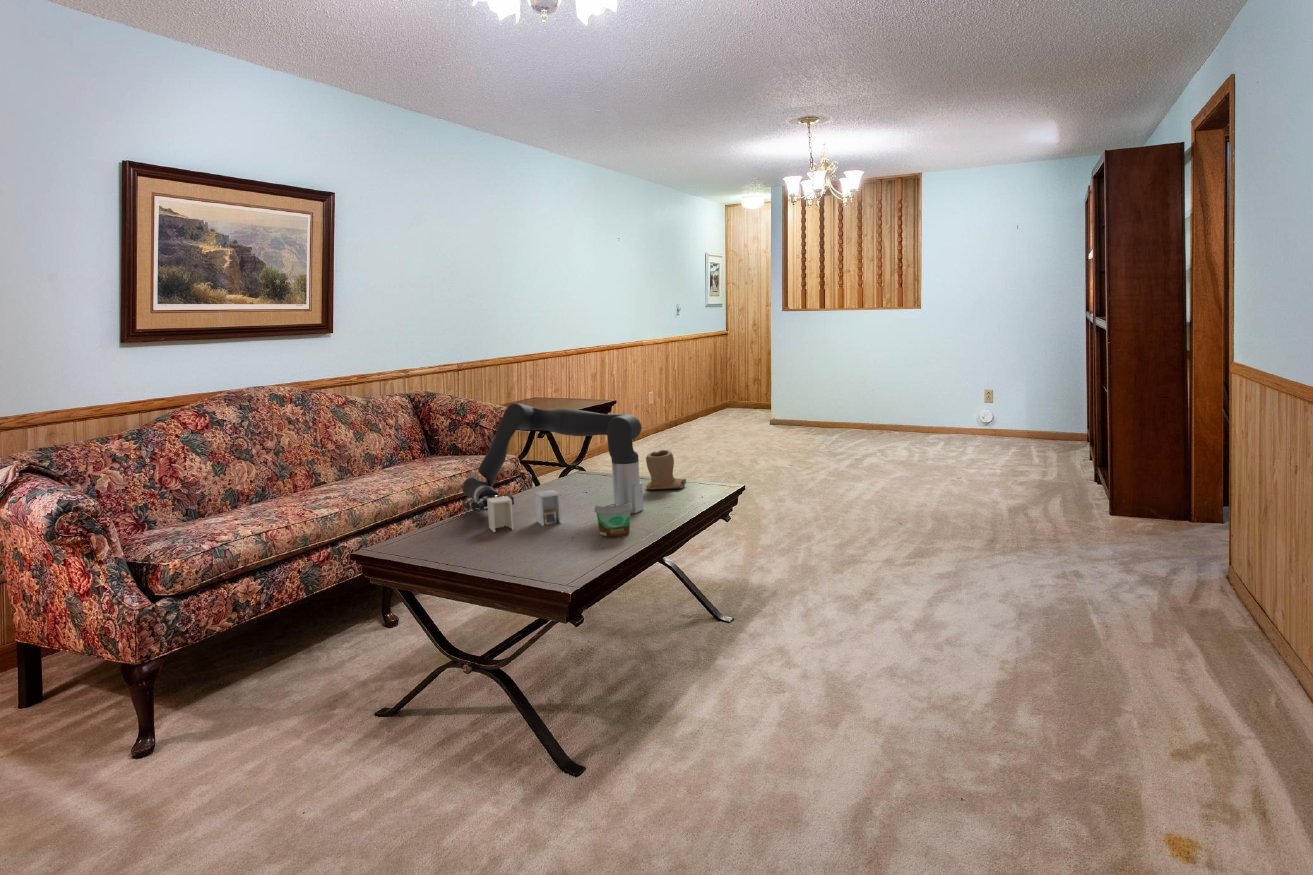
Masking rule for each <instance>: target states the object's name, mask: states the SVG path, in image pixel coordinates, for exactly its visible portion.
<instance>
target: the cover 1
mask: <svg viewBox="0 0 1313 875" xmlns="http://www.w3.org/2000/svg"><path fill="white" fill-rule="evenodd" d="M502 496H503V495H502ZM487 505H488V510H487V515H488V527H489V528H490V529H491V530H492V531H493V532H496V529H499V528H504V526H506V527H508V528H509V529H510V528H511V529H512V531H514V530H515V528H514V514H513V513H514V512H513V505H512V500H511V499H510V498H509V497H508V496H506V495H504V496H503V497H495V498H487ZM490 529H489V530H490ZM511 529H510V530H511ZM513 529H514V530H513ZM491 530H490V531H491ZM492 531H491V532H492Z"/></svg>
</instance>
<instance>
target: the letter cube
mask: <svg viewBox="0 0 1313 875" xmlns="http://www.w3.org/2000/svg"><path fill="white" fill-rule="evenodd" d="M543 518H544V525H545V524H546V525H552V524H557V519H556V511H555V510H553V509H549V510H543Z"/></svg>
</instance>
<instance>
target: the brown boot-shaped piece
mask: <svg viewBox="0 0 1313 875" xmlns="http://www.w3.org/2000/svg"><path fill="white" fill-rule="evenodd" d="M645 463H646V467H647V470H648V472H649V475H650V478H651V481H650V482H648V483H647V484H646V485H645V487H646V489H648V490H678V489H683V488H684V487H685V486H686V484H687V479H686V478H675V477H674V475H673V474H674V466H675V458H674V454H673V453H672V451H671V450H668V449H661V450H658V451H652V452H650V453H648V454H647V455H646V457H645Z"/></svg>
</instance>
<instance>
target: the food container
mask: <svg viewBox="0 0 1313 875" xmlns="http://www.w3.org/2000/svg"><path fill="white" fill-rule="evenodd" d="M631 509H632V504H631V502H630V500H628V503H624V504H614V503H612V504H609V505H606V506H602V505H595V507H594V513H596V517H597V524H598V532H599V537H600V536H602V537H601V538H604V537H605V539H619V538H618V537H620V538H624V537H623V536H625V537H627V536H629V535H630V528H631V527H630V524H631V513H630V510H631Z"/></svg>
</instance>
